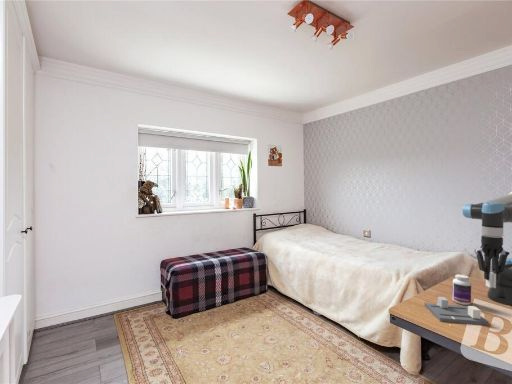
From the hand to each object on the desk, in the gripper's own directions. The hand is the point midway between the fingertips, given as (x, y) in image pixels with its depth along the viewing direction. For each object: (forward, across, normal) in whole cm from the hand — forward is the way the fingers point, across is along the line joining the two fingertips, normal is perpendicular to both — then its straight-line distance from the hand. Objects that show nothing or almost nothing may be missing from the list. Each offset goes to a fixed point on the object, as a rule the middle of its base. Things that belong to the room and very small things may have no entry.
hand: (490, 286), depth 123 cm
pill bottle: (+17, +1, -20) cm, 26 cm away
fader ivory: (+15, +7, 0) cm, 16 cm away
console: (+16, +12, -4) cm, 21 cm away
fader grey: (+15, +16, -9) cm, 23 cm away
